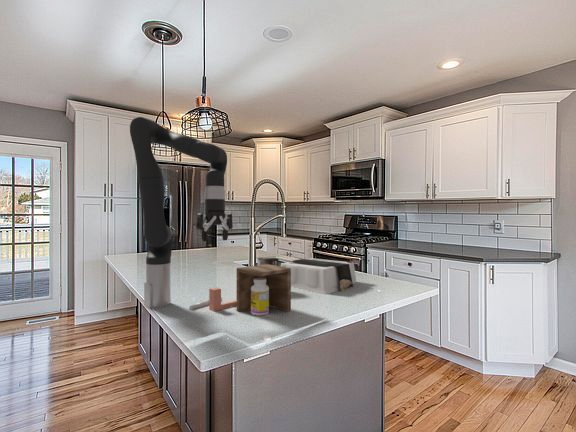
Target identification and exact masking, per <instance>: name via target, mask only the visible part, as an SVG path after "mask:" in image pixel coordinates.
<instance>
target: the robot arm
mask: <svg viewBox="0 0 576 432" xmlns="http://www.w3.org/2000/svg"><path fill="white" fill-rule="evenodd" d="M129 135H130V139H131V143H132V146H133V150H134V156H135V163H136V164H135V165H136V169H137V179H138V186H139V193H140V201H141V204H142V210H143V216H144V217H143V218H144V220H143V221H144V222H143V223H144V239H145V241H146V243H147V253H146V254H147V255H146V258H145V259H146V260H145V280H146V281H145V282H144V286H143V287H144V289H143V294H144V295H143V300H144V301H143V303H144V304H143V305H144V306H145V307H147V308H149V309H153V308H154V309H157V308H164V307H167V306H168V307H169V306H170V305H171V304H172V303H171V302H172V301H171V300H172V299H171V297H172V295H171V283H172V282H171V277H172V276H171V274H172V273H171V270H172V269H171V266H172V265H171V261H172V260H171V258H172V248H173V247H172V244H173V243H172V240H173V239H172V238H173V236H172V235H173V234H172V230H171V228H170V227H169V225H167V222H166V219H165V212H164V210H165V209H164V208H165V207H164V206H165V193H166V192H165V191H166V190H165V181H164V180H165V179H164V175H163V172H162V169H161V167H160V165H159V163H158V162H157V159H156V158H155V156H154V153H153V149H152V144H155V145H161V146H166V147H169V148H171V149H172V150H175V151H176V152H179V153H181V154H184V155H185V156H188V157H191V158H195V159H199V160H201V161H203V162H206V163H208V164H210V166H209V171H207V172H206V174H205V190H204V210H205V213H197V215H196V230H197V231H198V230H199V231H201V240H202V241H203V242H208V230H209V228H210V227H211V226H219V227H221V230H222V231H221V232H222V234H221V235H222V236H221V237H222V240H223V241H227V240H228V239H229V230H232V229H233V228H234V227H233V214H232V213H225V211H226V188H225V187H226V186H225V175H226V170H227V165H228V156H227V155H228V154H227V152H226V150H224V148H222V147H219V146H217V145H215V144H212V143H210V142H205V141H201V140H199V139H197V138H194V137H192V136H188V135H185V134H182V133H178V132H174V131H172V130H169V129H168V128H165V127H164V126H162V125H160V124H159V123H158V122H156V121H154V120H152V119H150V118H146V117H144V116H136V117H134V118H132V119H131V121H130V124H129ZM204 219H205V222H204ZM225 220H226V221H225Z"/></svg>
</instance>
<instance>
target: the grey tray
mask: <svg viewBox="0 0 576 432" xmlns="http://www.w3.org/2000/svg"><path fill="white" fill-rule="evenodd" d="M280 266H281V267H287V268H291V287H294V288H293V289H296V288H298V289H297V290H301V289H303V290H302V291H306V290H308V291H307V292H311V291H312V292H311V293H317V294H320V295H321V294H322V295H329V294H332V293H334V292H337V291H341V292H343V291H344V290H347V289H350V288H352V287H354V284H357V279H356V278H357V277H356V269H355V263H354V262H352V261H340V260H331V259H325V258H324V259H323V258H313V257H310V258H306V259H305V258H299V259H294V260H288V262H287V261H286V262H281V264H280Z"/></svg>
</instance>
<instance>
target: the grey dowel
mask: <svg viewBox="0 0 576 432" xmlns="http://www.w3.org/2000/svg"><path fill="white" fill-rule="evenodd" d="M222 301H223V299H222V297H221V302H222ZM206 306H209V299H208V300H205V301H201V302H198V303H195V304H192V305H189V308H188V309H189V310H190V311H194V310H196V309H200V308H202V307H206Z"/></svg>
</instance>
